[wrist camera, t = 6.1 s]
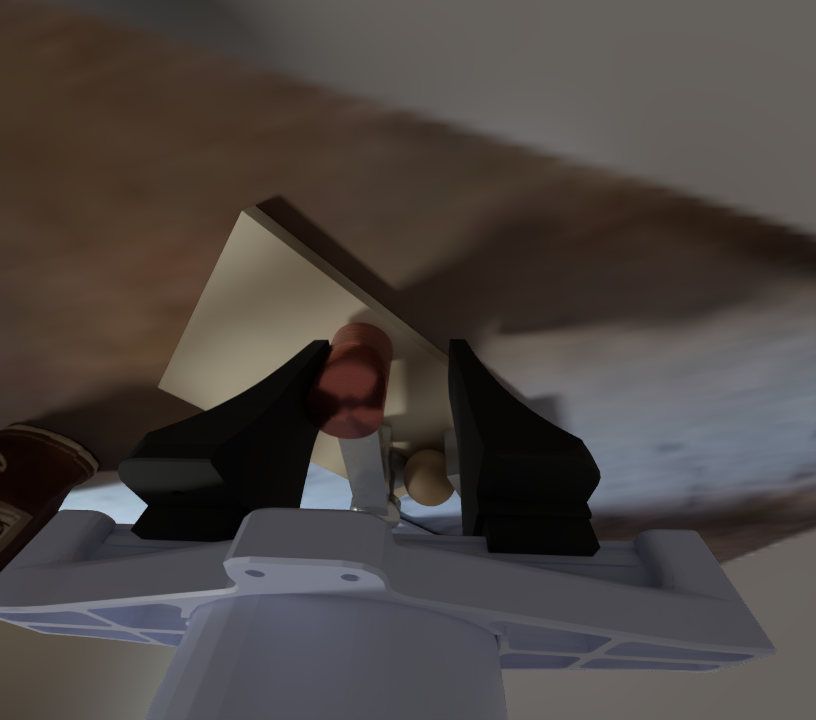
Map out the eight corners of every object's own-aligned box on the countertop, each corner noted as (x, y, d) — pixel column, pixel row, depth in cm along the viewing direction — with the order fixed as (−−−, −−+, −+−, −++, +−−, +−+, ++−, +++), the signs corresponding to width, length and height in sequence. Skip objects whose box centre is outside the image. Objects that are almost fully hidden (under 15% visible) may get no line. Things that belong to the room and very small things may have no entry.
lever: (403, 483, 21) (399, 550, 18) (361, 481, 21) (348, 548, 18) (393, 319, 13) (382, 385, 10) (326, 319, 13) (292, 383, 10)
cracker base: (535, 424, 19) (558, 487, 15) (407, 495, 24) (404, 552, 21) (254, 205, 12) (188, 233, 8) (169, 375, 18) (111, 431, 14)
